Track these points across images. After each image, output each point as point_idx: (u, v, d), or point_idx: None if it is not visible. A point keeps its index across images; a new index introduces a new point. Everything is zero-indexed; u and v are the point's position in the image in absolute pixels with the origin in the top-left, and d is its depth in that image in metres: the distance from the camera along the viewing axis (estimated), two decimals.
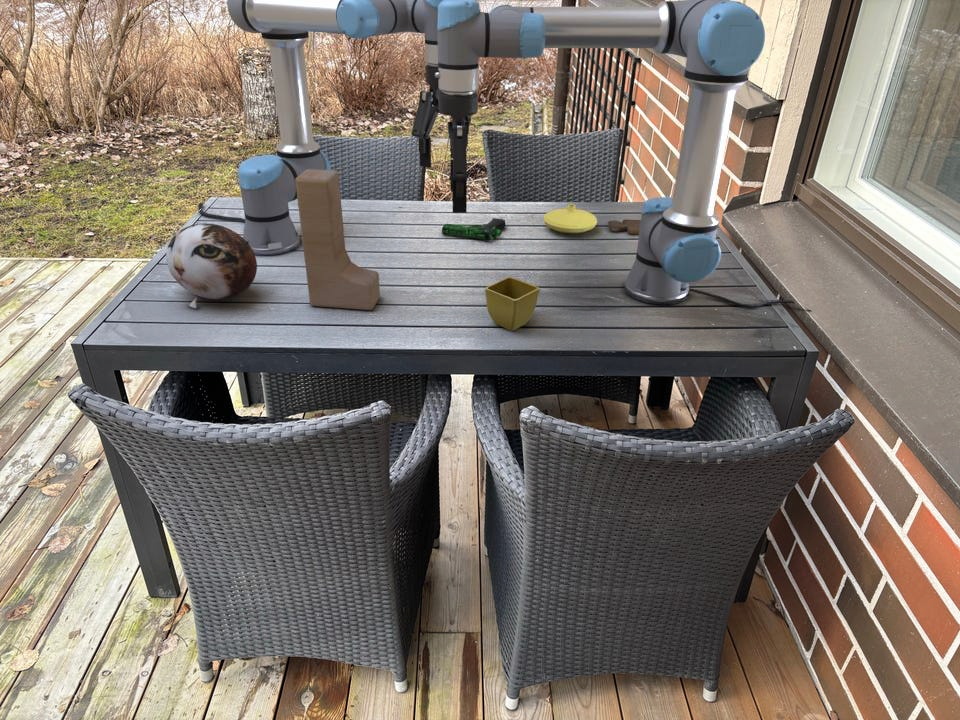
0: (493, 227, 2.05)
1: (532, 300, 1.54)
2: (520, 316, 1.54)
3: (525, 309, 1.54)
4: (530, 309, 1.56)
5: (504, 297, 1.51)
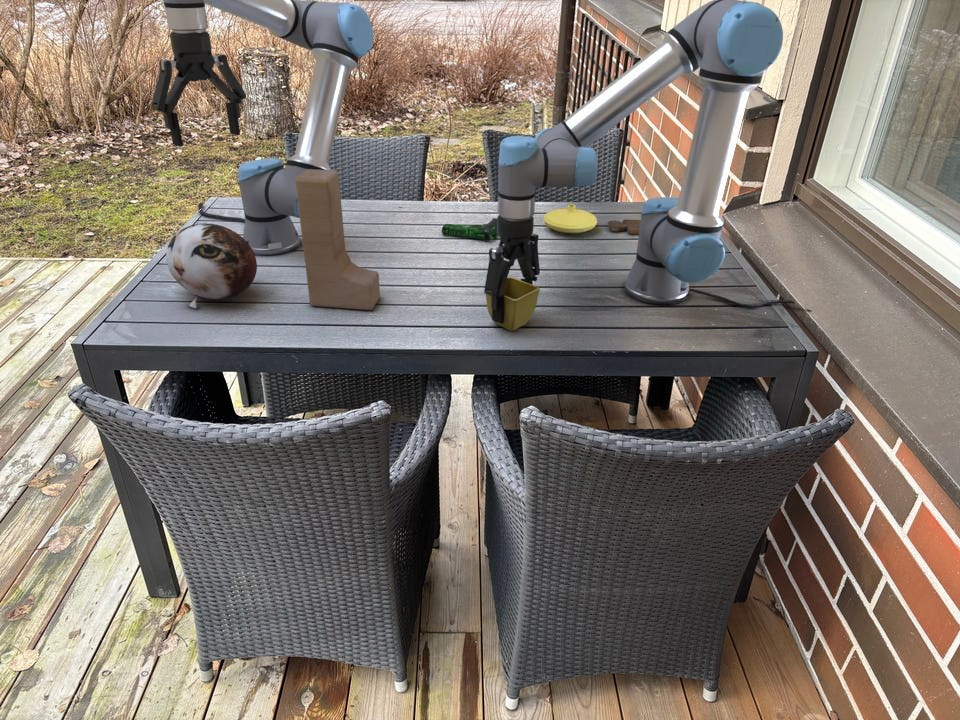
0: (493, 227, 2.05)
1: (532, 300, 1.54)
2: (520, 316, 1.54)
3: (525, 309, 1.54)
4: (530, 309, 1.56)
5: None
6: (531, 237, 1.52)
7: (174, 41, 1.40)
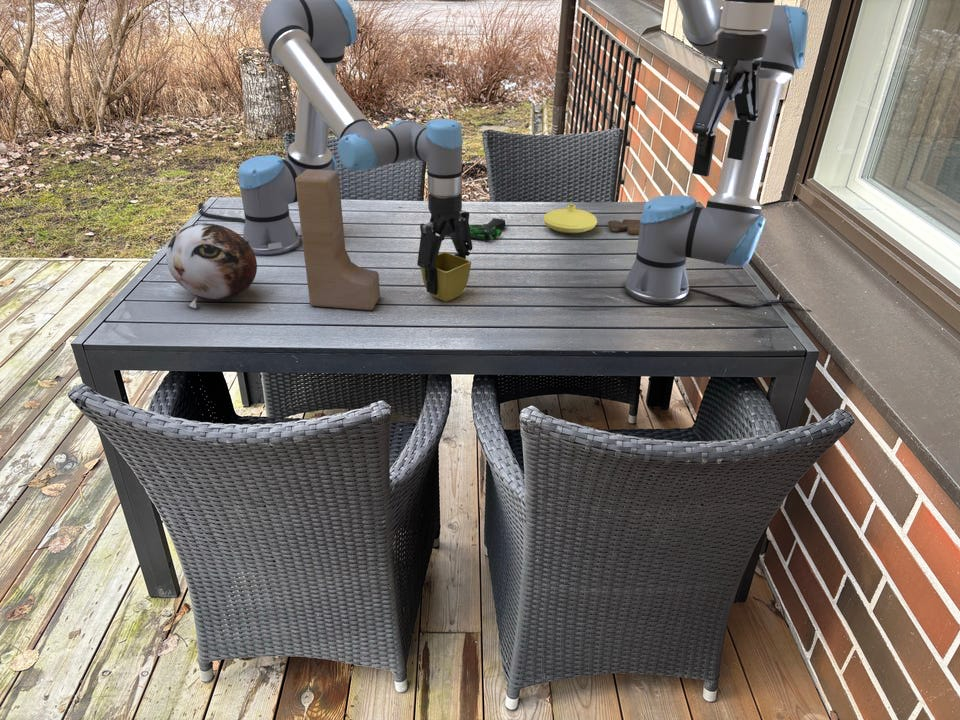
0: (493, 227, 2.05)
1: (464, 273, 1.66)
2: (452, 288, 1.65)
3: (458, 282, 1.66)
4: (463, 281, 1.68)
5: None
6: (752, 65, 1.18)
7: (434, 204, 1.56)
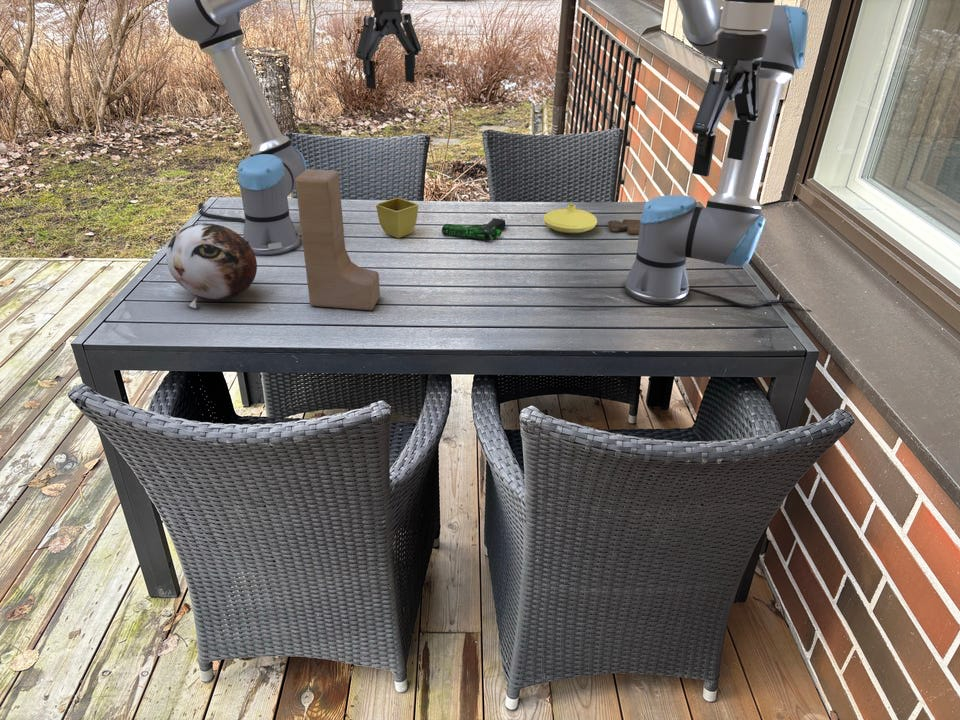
0: (493, 227, 2.05)
1: (412, 214, 2.01)
2: (402, 226, 2.00)
3: (407, 221, 2.01)
4: (411, 221, 2.02)
5: (389, 210, 1.98)
6: (752, 65, 1.18)
7: (376, 0, 1.72)
